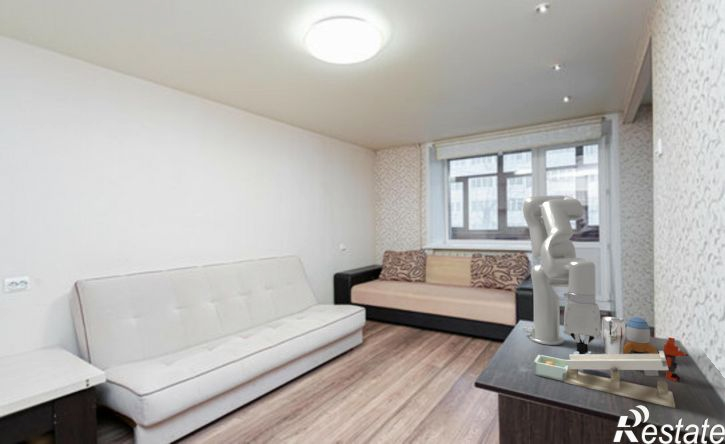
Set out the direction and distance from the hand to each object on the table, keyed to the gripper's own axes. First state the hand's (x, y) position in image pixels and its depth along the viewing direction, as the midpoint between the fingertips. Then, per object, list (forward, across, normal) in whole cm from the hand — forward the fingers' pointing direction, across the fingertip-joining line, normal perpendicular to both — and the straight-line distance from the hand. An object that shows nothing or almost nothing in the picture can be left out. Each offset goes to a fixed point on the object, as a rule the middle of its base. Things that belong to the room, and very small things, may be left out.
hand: (582, 354), depth 117 cm
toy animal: (+6, +24, +10) cm, 27 cm away
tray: (+6, -8, -8) cm, 12 cm away
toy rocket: (+6, +16, +26) cm, 31 cm away
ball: (+4, -8, -8) cm, 12 cm away
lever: (+1, +10, -3) cm, 10 cm away
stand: (+6, +9, -8) cm, 13 cm away
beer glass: (+6, +8, +15) cm, 18 cm away
